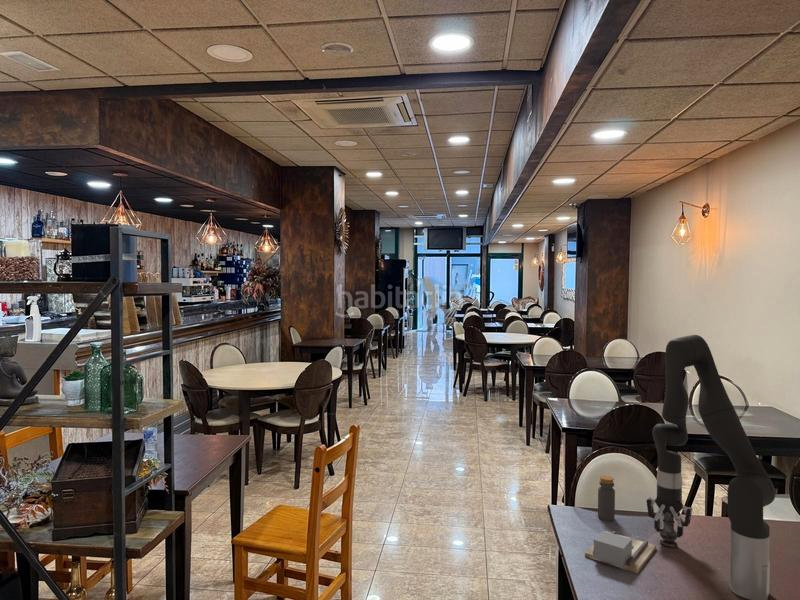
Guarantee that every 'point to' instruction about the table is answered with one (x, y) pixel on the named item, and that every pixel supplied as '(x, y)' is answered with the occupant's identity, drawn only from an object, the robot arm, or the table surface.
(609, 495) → the bottle
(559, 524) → the table surface
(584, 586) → the table surface
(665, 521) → the salt shaker
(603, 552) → the cover
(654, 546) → the board
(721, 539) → the table surface
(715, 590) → the table surface
